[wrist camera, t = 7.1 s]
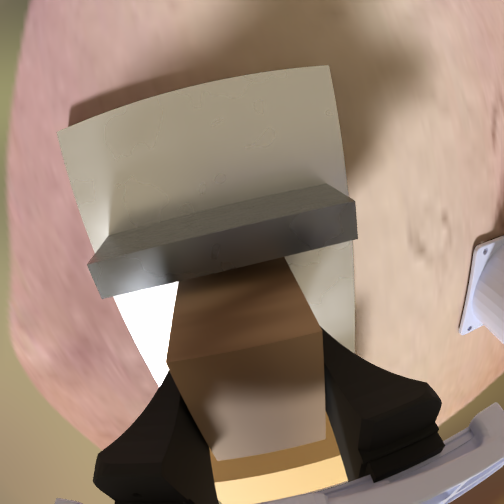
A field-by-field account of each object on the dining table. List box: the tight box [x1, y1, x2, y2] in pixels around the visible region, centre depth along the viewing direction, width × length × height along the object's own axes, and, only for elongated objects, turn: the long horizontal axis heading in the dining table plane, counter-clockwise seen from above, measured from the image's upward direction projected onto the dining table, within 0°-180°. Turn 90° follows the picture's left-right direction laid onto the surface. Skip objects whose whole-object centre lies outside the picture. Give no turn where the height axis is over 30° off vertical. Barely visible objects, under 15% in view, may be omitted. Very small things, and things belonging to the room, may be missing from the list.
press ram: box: [209, 411, 348, 504], centre depth 18 cm, size 9×5×5 cm, turn 101°
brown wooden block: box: [165, 257, 326, 461], centre depth 12 cm, size 4×6×6 cm
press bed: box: [57, 65, 358, 386], centre depth 15 cm, size 12×24×4 cm, turn 11°
